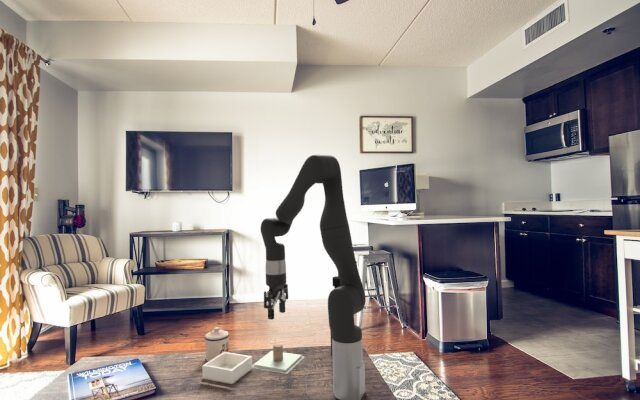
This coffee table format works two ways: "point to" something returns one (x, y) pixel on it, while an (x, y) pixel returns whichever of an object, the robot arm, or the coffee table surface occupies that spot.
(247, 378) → the coffee table surface
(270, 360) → the lid
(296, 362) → the mat
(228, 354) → the dish
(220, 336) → the teacup with lid
